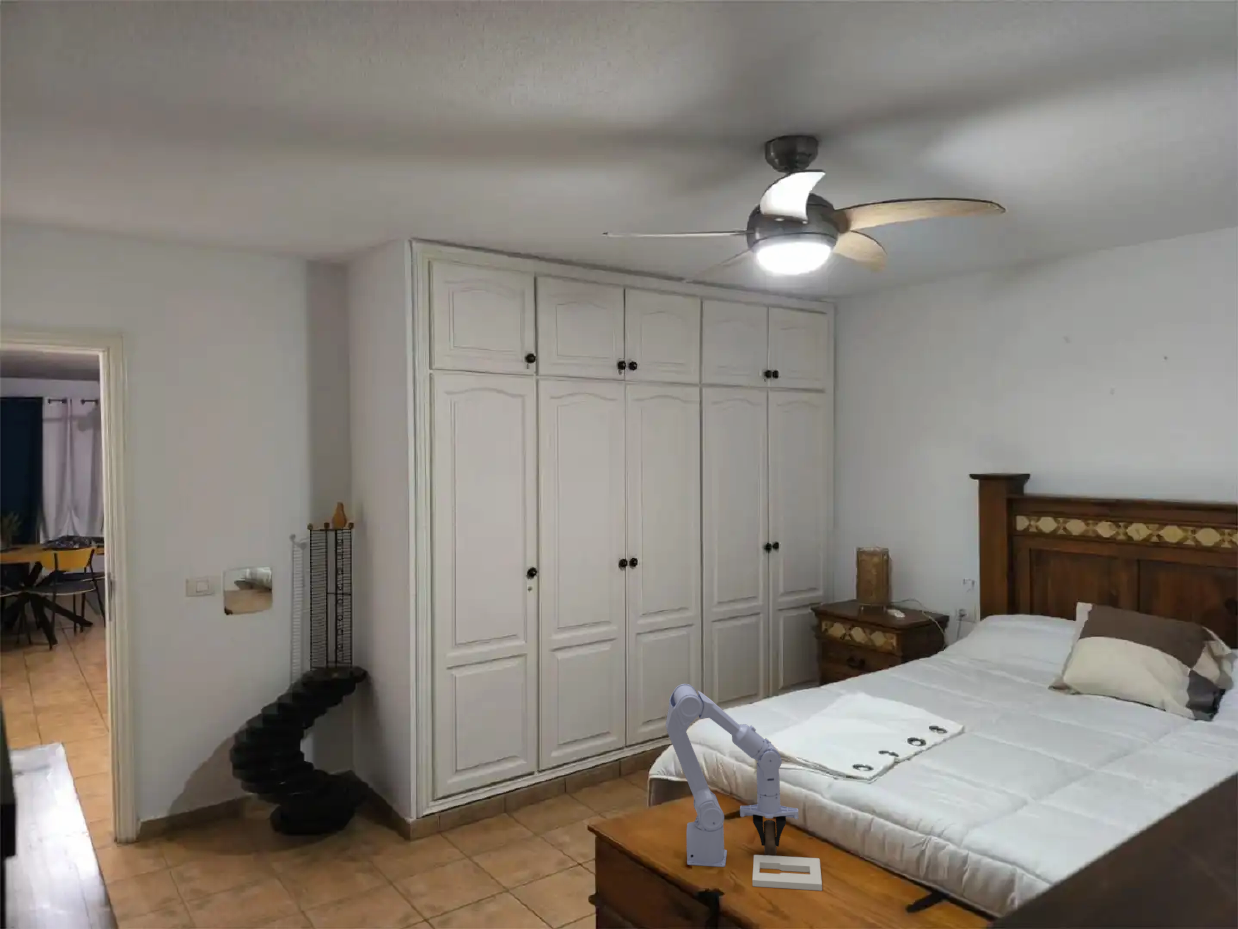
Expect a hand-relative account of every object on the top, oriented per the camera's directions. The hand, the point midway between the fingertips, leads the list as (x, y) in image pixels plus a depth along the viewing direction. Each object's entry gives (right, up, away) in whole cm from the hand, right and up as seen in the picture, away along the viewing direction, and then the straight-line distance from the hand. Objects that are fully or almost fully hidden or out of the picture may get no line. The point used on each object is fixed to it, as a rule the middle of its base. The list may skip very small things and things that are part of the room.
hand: (770, 844), depth 213 cm
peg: (0, -2, 0) cm, 2 cm away
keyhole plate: (+2, -3, -10) cm, 11 cm away
